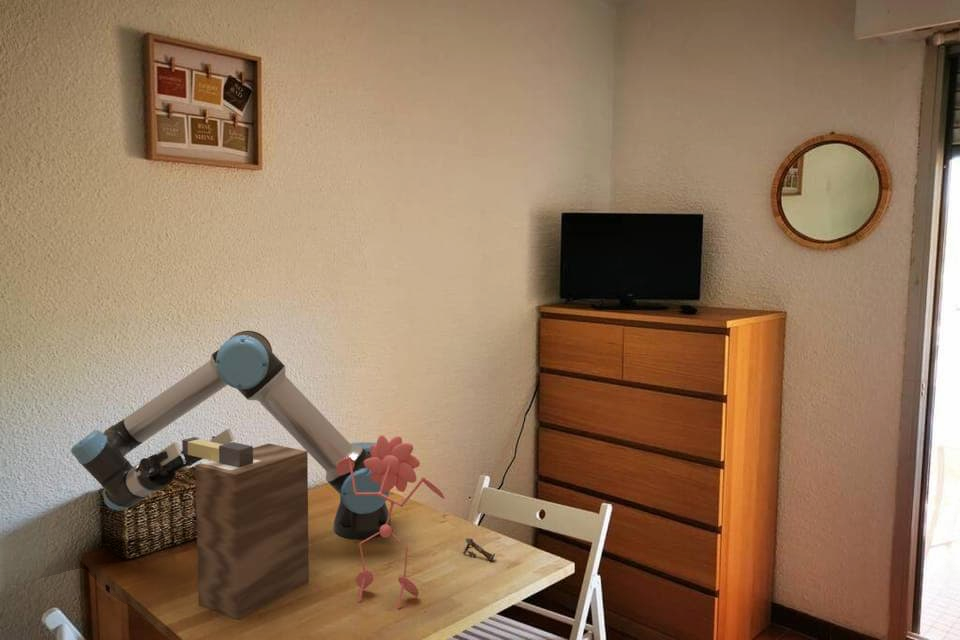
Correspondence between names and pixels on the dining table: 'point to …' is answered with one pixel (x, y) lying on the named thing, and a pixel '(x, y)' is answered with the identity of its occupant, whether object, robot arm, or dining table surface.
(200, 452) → the marker
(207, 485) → the tall wood-grain block
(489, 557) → the wooden post with brackets
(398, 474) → the figurine
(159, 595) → the dining table surface
